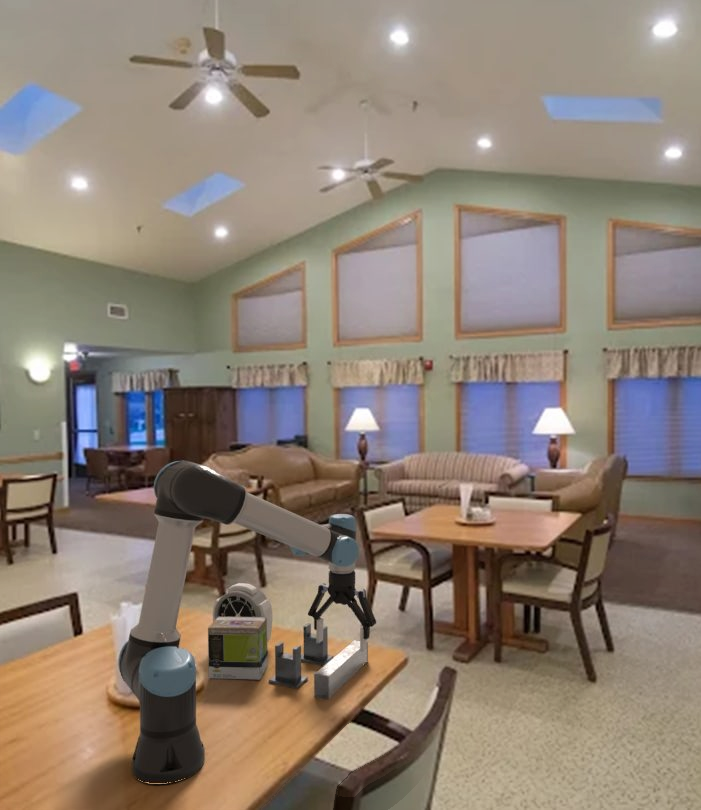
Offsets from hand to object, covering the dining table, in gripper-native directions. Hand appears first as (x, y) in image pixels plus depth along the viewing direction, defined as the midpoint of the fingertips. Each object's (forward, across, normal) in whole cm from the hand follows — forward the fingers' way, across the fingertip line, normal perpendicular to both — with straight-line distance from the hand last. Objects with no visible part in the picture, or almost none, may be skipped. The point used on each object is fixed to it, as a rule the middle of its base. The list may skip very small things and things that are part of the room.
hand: (341, 645), depth 177 cm
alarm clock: (+10, +38, -7) cm, 39 cm away
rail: (+9, 0, -1) cm, 9 cm away
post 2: (+9, +13, -9) cm, 18 cm away
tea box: (+10, +29, +8) cm, 32 cm away
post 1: (+10, +13, +7) cm, 18 cm away
